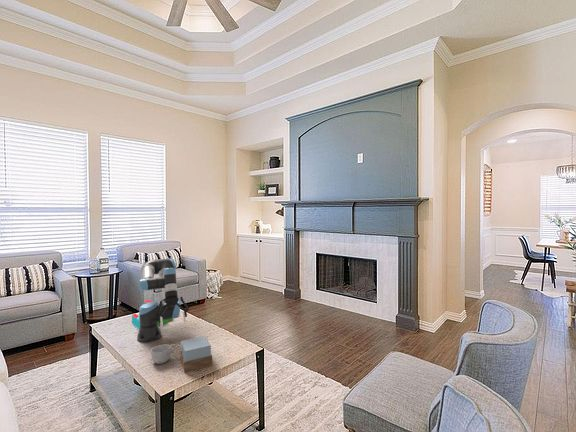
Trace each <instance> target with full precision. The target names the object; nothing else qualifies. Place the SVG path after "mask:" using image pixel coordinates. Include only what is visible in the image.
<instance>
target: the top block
mask: <svg viewBox="0 0 576 432" xmlns="http://www.w3.org/2000/svg"><path fill="white" fill-rule="evenodd" d="M211 346H212V345H211V343H210V342H209V339H207V336H206V335H203V336H198V337H193V338H189V339H185V340H180V347H181V348H180V349H181V350H180V351H182V354H183V357H184V360H185V362H187V361H191V360H196V359H200V358H204V357H208V356H211V355H212V347H211Z"/></svg>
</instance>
